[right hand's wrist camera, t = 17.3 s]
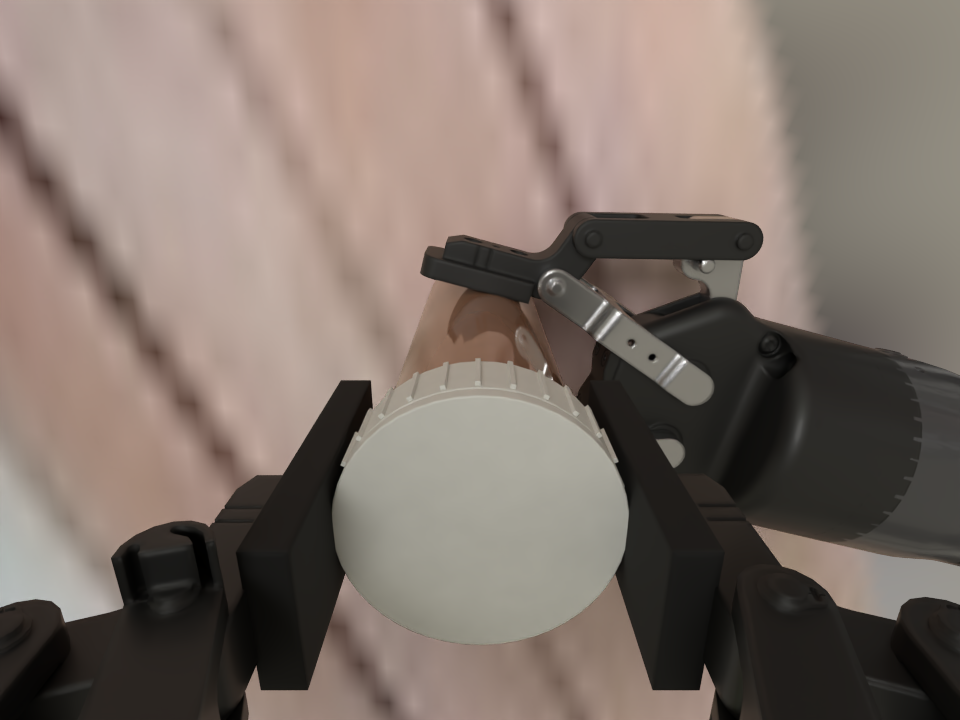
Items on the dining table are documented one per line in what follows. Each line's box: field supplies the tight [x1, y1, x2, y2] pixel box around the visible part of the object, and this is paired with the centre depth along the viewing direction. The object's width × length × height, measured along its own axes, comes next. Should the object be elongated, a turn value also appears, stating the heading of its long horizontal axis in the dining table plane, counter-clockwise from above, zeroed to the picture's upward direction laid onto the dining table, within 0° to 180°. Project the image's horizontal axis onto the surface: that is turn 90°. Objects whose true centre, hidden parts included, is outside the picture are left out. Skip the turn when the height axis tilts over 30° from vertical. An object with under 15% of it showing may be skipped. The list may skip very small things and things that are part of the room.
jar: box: [396, 280, 564, 388], centre depth 19 cm, size 5×5×16 cm
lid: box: [332, 358, 629, 645], centre depth 11 cm, size 6×6×2 cm
